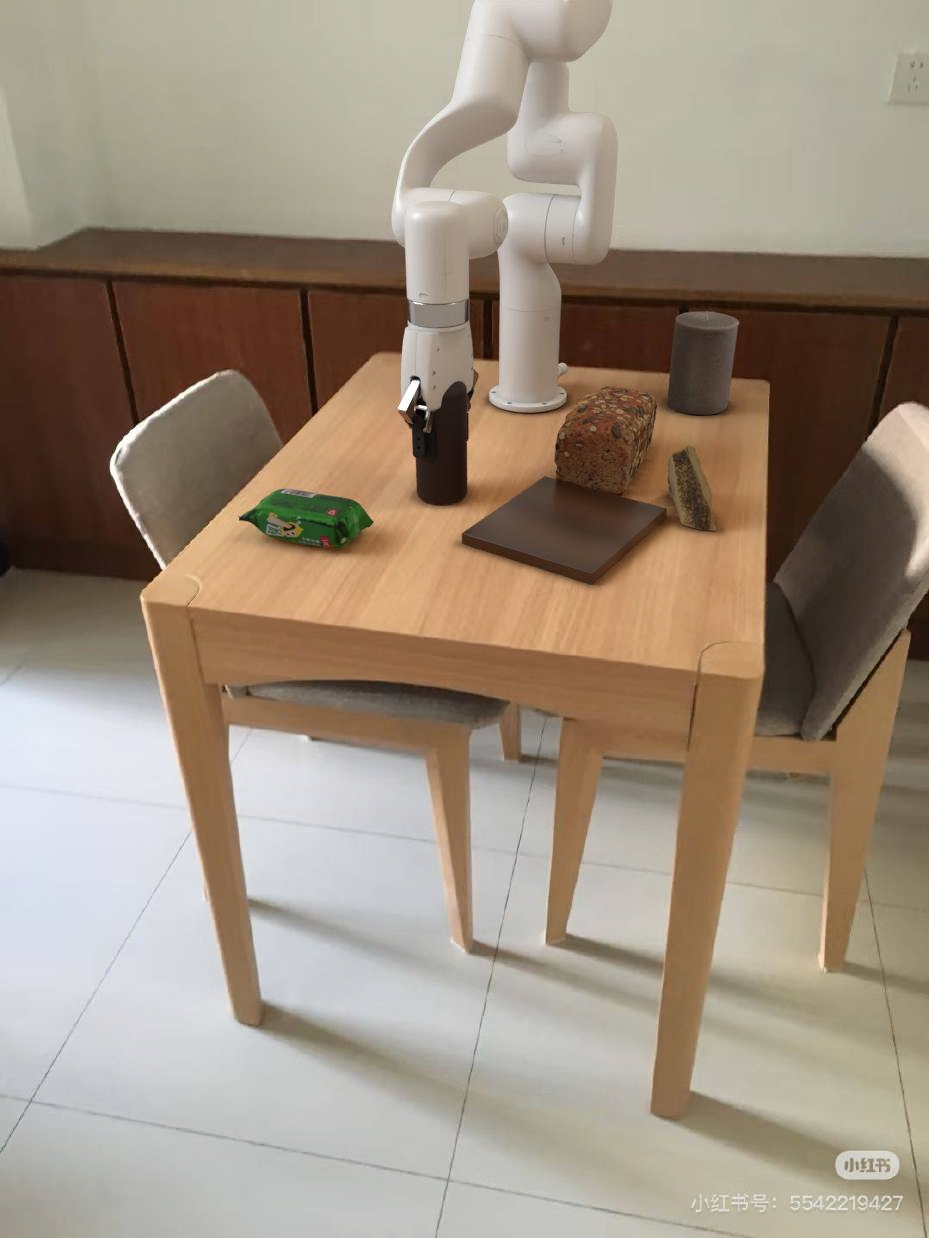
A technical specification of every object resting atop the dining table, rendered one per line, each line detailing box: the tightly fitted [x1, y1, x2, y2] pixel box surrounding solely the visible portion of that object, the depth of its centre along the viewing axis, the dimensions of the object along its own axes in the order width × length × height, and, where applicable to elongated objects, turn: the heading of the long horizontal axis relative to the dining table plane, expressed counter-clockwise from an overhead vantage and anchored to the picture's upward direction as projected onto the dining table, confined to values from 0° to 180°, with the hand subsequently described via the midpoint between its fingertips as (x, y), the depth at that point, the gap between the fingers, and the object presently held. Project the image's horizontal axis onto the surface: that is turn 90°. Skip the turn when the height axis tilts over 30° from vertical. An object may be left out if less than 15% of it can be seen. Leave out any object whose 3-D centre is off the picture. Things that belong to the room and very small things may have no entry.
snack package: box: [237, 488, 375, 550], centre depth 126 cm, size 7×16×5 cm, turn 70°
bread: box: [553, 385, 658, 495], centre depth 142 cm, size 19×11×10 cm, turn 159°
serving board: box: [461, 475, 668, 585], centre depth 128 cm, size 20×18×2 cm
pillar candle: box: [666, 310, 740, 416], centre depth 161 cm, size 10×10×15 cm
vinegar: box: [414, 381, 468, 506], centre depth 132 cm, size 7×7×20 cm
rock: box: [667, 444, 718, 532], centre depth 131 cm, size 11×9×10 cm
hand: (441, 448), depth 133 cm, fingers closed on vinegar, 6 cm apart
